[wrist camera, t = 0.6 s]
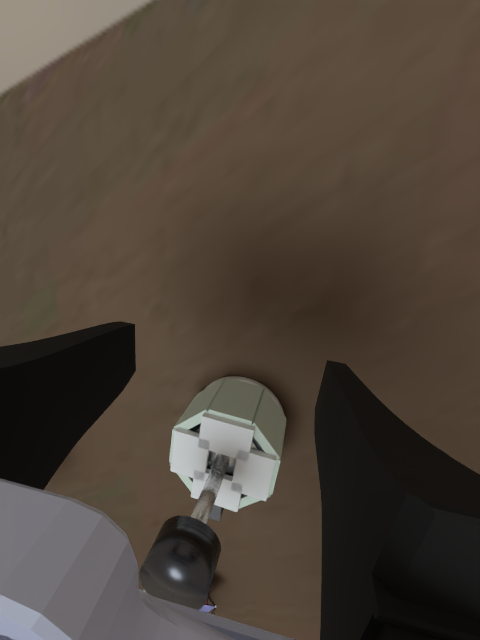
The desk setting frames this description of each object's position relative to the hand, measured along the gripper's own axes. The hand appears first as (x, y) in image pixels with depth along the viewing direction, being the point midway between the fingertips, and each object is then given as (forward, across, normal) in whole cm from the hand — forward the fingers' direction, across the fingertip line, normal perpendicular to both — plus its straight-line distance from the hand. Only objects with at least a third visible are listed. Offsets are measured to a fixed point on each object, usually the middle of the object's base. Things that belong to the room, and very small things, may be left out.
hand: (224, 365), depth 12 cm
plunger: (+5, 0, +10) cm, 11 cm away
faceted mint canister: (+10, 0, +10) cm, 14 cm away
